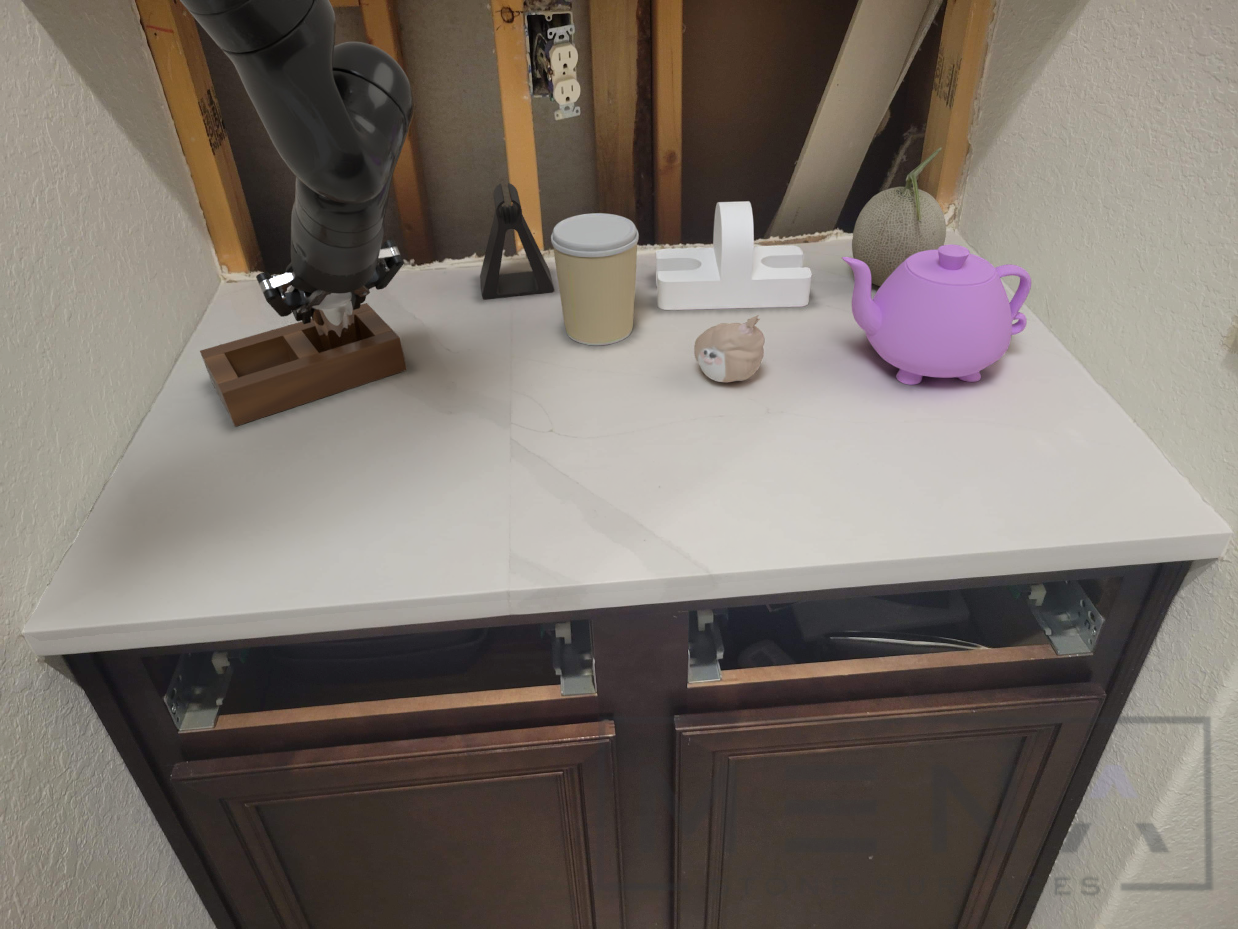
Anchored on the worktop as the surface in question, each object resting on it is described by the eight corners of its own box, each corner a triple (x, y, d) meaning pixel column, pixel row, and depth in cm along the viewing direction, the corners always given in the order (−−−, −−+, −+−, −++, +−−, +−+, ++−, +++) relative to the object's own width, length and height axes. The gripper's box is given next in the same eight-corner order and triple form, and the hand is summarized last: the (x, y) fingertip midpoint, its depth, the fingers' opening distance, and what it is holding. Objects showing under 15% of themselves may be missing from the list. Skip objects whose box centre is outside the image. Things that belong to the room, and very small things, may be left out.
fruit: (856, 305, 97) (877, 178, 88) (839, 264, 106) (856, 145, 97) (946, 304, 96) (976, 176, 87) (921, 263, 106) (946, 144, 96)
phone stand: (549, 272, 107) (541, 179, 100) (554, 292, 102) (546, 196, 95) (480, 279, 106) (467, 186, 98) (482, 299, 101) (468, 203, 94)
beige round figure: (712, 399, 82) (716, 328, 77) (685, 369, 87) (686, 300, 82) (770, 384, 84) (777, 314, 79) (740, 356, 88) (745, 287, 84)
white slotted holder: (655, 275, 105) (655, 191, 98) (796, 271, 105) (805, 187, 98) (658, 310, 97) (658, 221, 91) (810, 306, 97) (821, 217, 91)
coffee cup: (620, 304, 99) (617, 206, 92) (653, 338, 92) (653, 235, 85) (547, 320, 96) (538, 220, 89) (575, 356, 89) (568, 252, 82)
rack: (407, 370, 88) (400, 337, 86) (235, 427, 81) (221, 392, 78) (374, 334, 95) (366, 302, 92) (212, 383, 87) (199, 350, 85)
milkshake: (380, 363, 90) (363, 277, 84) (336, 381, 87) (314, 292, 81) (359, 349, 92) (340, 265, 86) (315, 366, 89) (293, 279, 83)
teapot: (842, 403, 81) (861, 286, 73) (810, 333, 92) (824, 225, 84) (1044, 393, 81) (1084, 275, 73) (987, 325, 92) (1017, 217, 85)
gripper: (397, 177, 75) (378, 259, 90) (236, 214, 69) (244, 294, 84) (430, 252, 74) (405, 320, 90) (271, 294, 68) (273, 360, 84)
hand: (327, 307), depth 87 cm, fingers closed on milkshake, 4 cm apart
